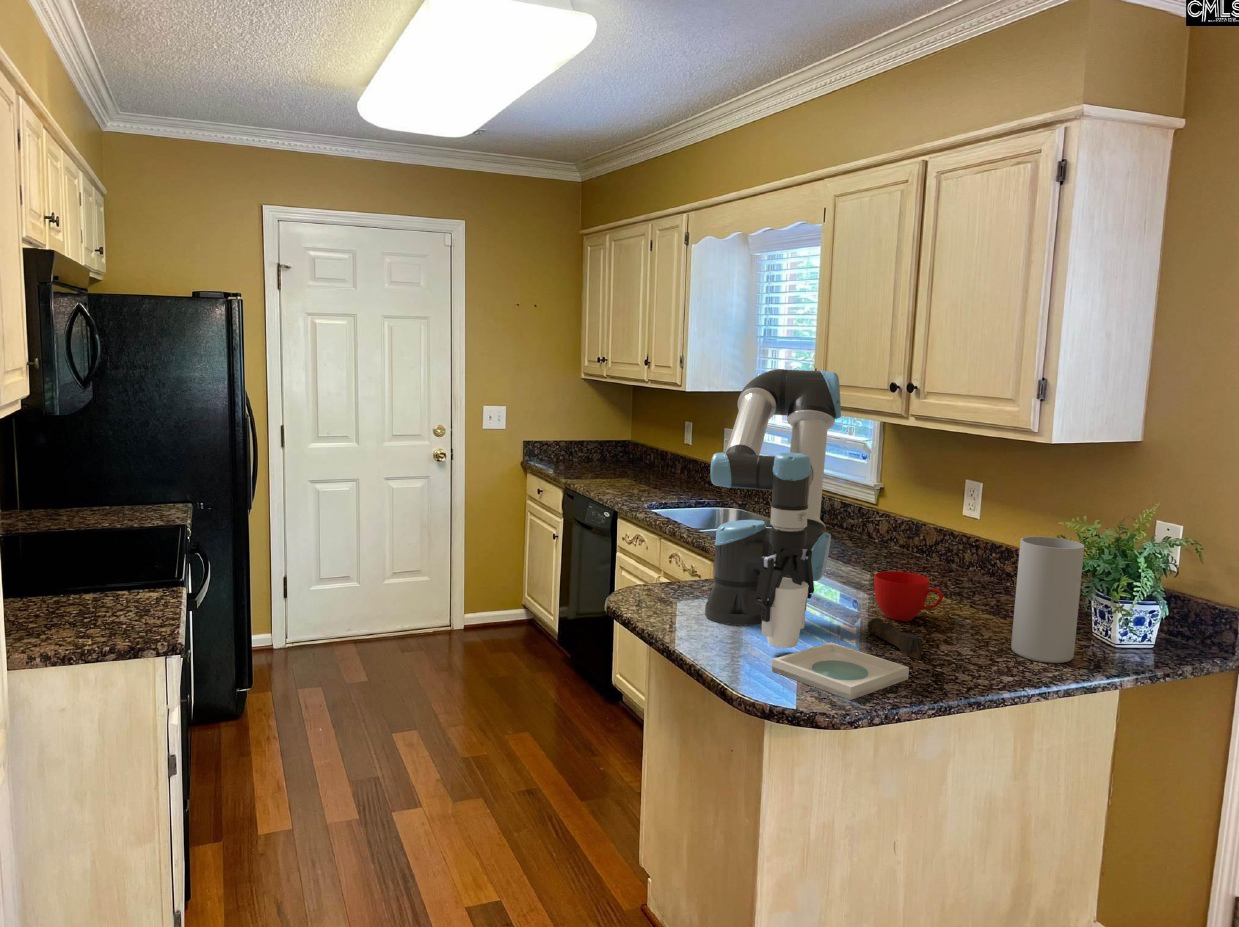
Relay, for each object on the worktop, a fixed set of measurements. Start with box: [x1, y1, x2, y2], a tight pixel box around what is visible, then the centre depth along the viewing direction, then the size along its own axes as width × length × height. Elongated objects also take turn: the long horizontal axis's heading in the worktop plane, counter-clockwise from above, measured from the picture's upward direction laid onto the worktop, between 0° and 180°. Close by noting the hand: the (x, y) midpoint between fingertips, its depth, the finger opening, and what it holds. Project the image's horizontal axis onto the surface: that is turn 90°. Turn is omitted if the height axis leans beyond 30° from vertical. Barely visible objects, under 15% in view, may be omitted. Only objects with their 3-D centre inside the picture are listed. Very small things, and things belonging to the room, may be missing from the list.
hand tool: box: [867, 617, 923, 660], centre depth 207 cm, size 19×4×5 cm, turn 12°
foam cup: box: [766, 578, 809, 649], centre depth 198 cm, size 10×9×13 cm
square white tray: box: [771, 641, 910, 701], centre depth 187 cm, size 19×19×2 cm
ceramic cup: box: [873, 570, 944, 622], centre depth 228 cm, size 13×17×10 cm
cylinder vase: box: [1010, 536, 1085, 664], centre depth 203 cm, size 12×12×25 cm
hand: (782, 631), depth 198 cm, fingers closed on foam cup, 9 cm apart
